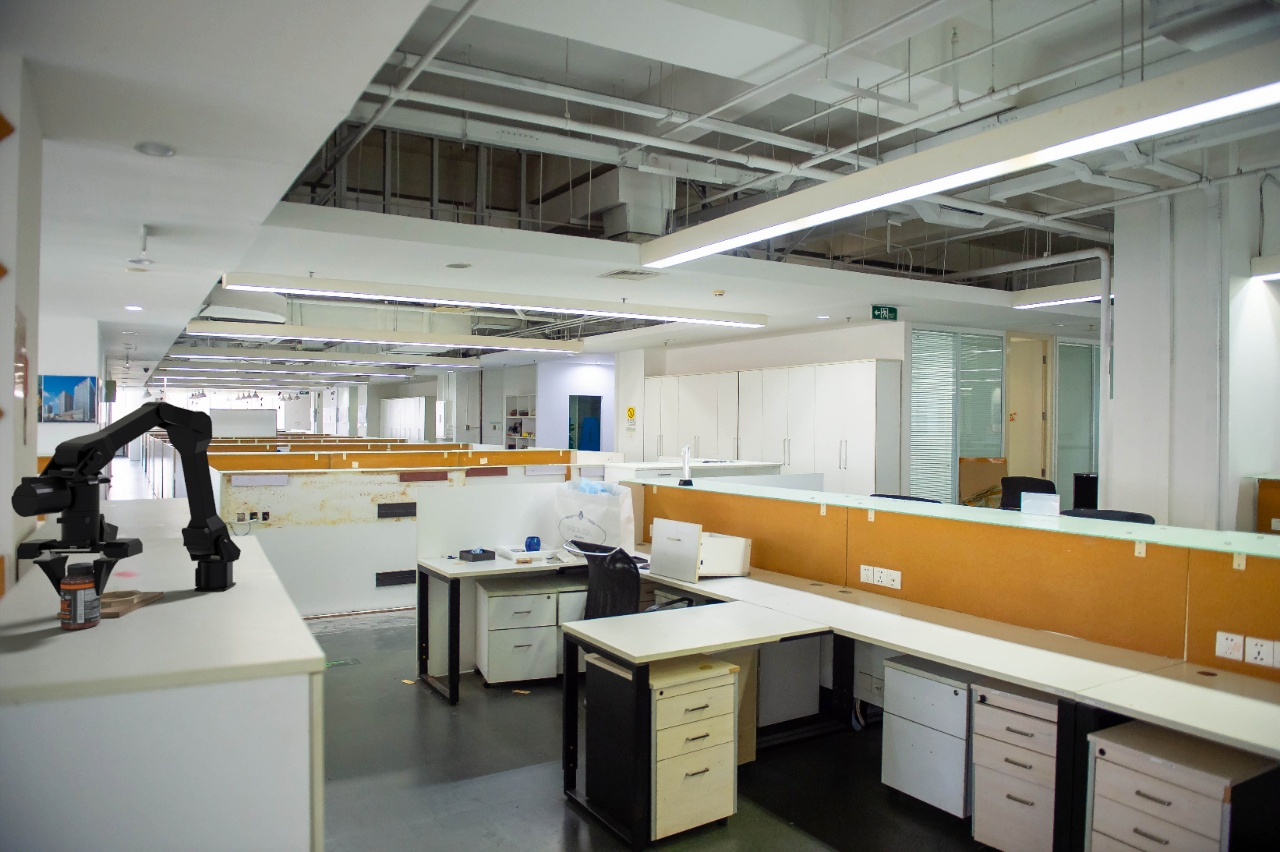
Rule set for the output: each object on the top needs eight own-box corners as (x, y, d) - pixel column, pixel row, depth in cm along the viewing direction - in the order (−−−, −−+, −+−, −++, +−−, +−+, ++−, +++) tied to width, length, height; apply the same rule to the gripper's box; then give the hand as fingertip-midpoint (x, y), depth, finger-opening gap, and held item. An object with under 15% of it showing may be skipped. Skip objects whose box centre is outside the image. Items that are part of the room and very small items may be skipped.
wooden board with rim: (163, 596, 166) (163, 585, 166) (119, 617, 149) (119, 605, 149) (108, 597, 165) (108, 586, 165) (57, 618, 148) (57, 606, 148)
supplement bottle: (53, 627, 141) (53, 565, 141) (89, 620, 147) (89, 559, 146) (71, 632, 139) (71, 568, 138) (107, 624, 144) (107, 563, 144)
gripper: (157, 504, 151) (157, 585, 152) (53, 505, 149) (53, 586, 149) (126, 512, 140) (126, 599, 140) (13, 512, 138) (13, 600, 138)
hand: (80, 595), depth 143 cm, fingers closed on supplement bottle, 6 cm apart
